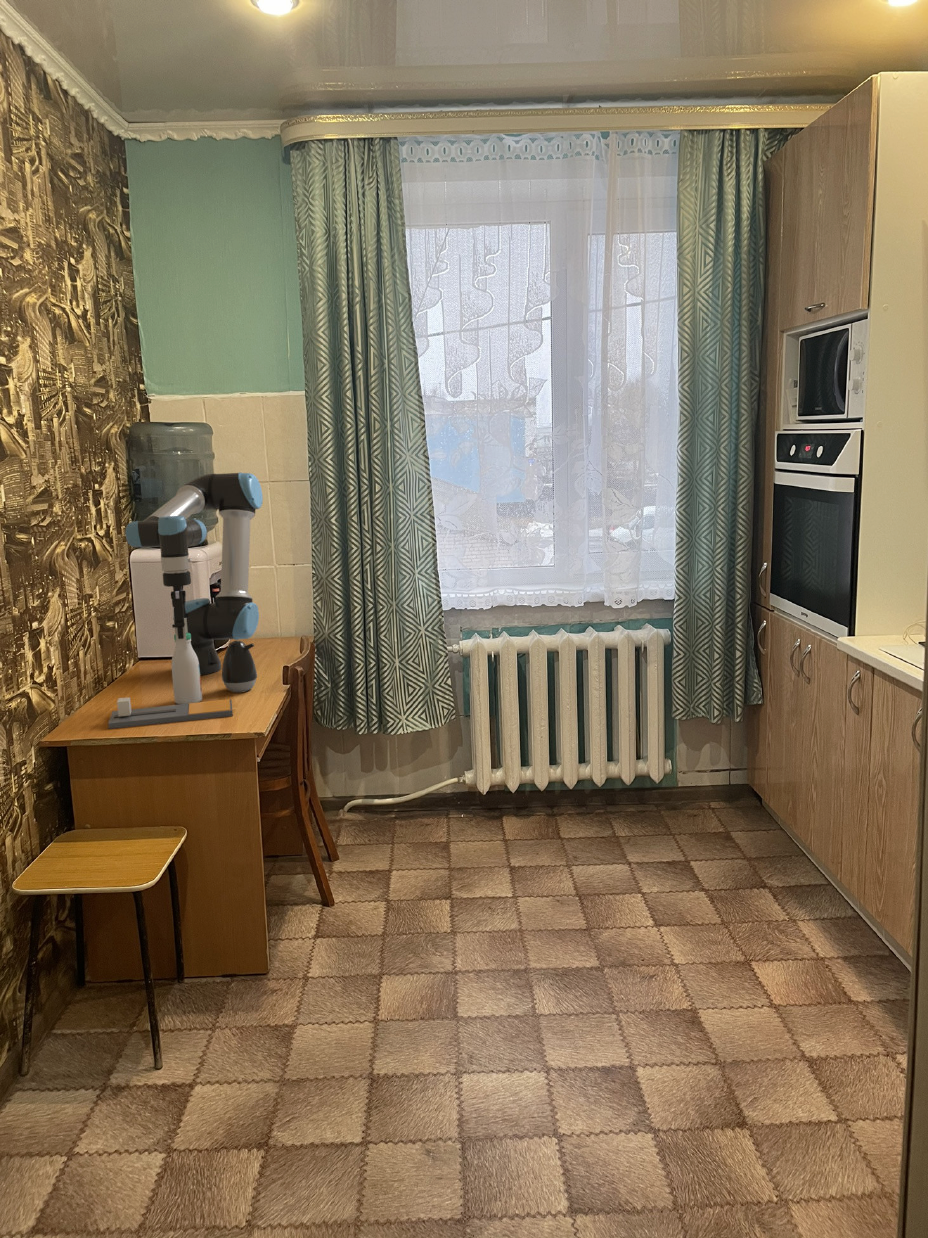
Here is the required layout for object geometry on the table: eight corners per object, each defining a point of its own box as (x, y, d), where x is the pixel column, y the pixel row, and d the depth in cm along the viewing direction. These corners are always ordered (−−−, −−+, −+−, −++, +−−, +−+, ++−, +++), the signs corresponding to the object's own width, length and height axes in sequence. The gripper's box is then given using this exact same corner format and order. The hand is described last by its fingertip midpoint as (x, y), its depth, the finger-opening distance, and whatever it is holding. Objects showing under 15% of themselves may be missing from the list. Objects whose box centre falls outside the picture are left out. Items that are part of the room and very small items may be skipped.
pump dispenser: (250, 695, 285) (246, 644, 282) (217, 694, 287) (212, 644, 284) (264, 686, 294) (260, 637, 291) (232, 685, 296) (228, 636, 293)
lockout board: (113, 716, 268) (112, 710, 268) (231, 704, 275) (231, 698, 275) (108, 728, 256) (108, 722, 256) (232, 715, 264) (232, 709, 264)
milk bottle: (201, 704, 277) (194, 635, 273) (173, 706, 276) (166, 637, 272) (203, 696, 285) (197, 630, 281) (176, 699, 283) (170, 632, 280)
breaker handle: (119, 712, 264) (118, 698, 263) (131, 711, 265) (129, 697, 264) (118, 716, 260) (116, 702, 260) (130, 715, 261) (128, 701, 260)
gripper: (189, 575, 262) (195, 652, 266) (190, 565, 286) (197, 635, 289) (160, 577, 260) (167, 655, 264) (164, 567, 284) (170, 638, 288)
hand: (182, 645), depth 277 cm, fingers open, 13 cm apart
